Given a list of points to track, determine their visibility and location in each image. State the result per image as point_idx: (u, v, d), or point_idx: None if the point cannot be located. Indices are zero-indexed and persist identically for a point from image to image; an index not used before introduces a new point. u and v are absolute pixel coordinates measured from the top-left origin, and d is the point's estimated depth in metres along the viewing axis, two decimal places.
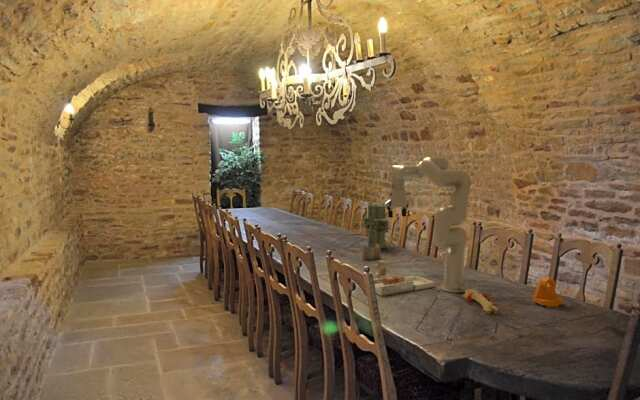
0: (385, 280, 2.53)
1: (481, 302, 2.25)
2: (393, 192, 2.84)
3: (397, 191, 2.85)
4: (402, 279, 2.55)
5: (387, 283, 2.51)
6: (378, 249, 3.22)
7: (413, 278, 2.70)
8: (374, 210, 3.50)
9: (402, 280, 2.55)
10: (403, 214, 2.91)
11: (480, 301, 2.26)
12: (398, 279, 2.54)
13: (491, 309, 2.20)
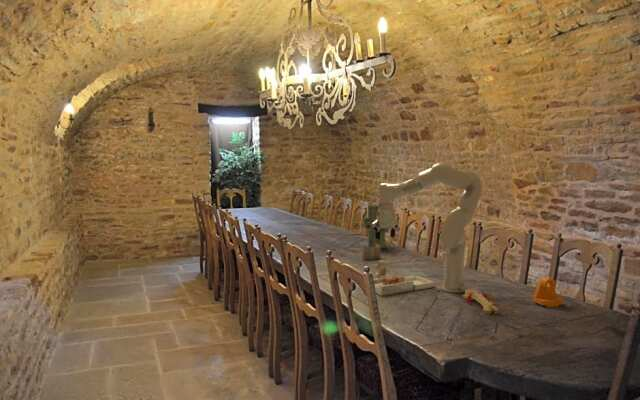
0: (385, 280, 2.53)
1: (481, 302, 2.25)
2: (380, 212, 2.67)
3: (385, 211, 2.67)
4: (402, 279, 2.55)
5: (387, 283, 2.51)
6: (378, 249, 3.22)
7: (413, 278, 2.70)
8: (374, 210, 3.50)
9: (402, 280, 2.55)
10: (392, 235, 2.74)
11: (480, 301, 2.26)
12: (398, 279, 2.54)
13: (491, 309, 2.20)
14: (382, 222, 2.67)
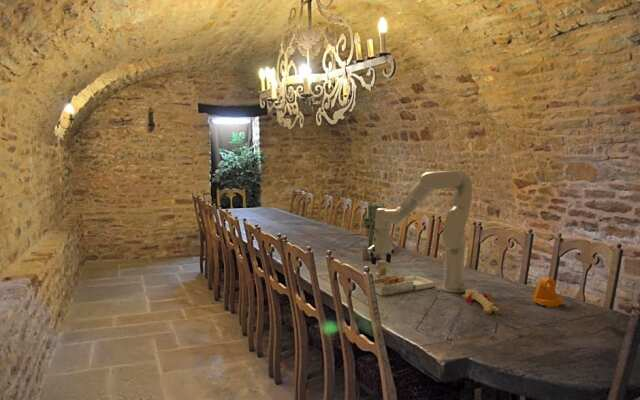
0: (385, 280, 2.53)
1: (482, 302, 2.25)
2: (377, 237, 2.63)
3: (381, 236, 2.63)
4: (402, 279, 2.55)
5: (387, 283, 2.51)
6: None
7: (413, 278, 2.70)
8: (374, 210, 3.50)
9: (402, 280, 2.55)
10: (387, 260, 2.70)
11: (480, 301, 2.26)
12: (398, 279, 2.54)
13: (492, 309, 2.19)
14: (378, 248, 2.63)
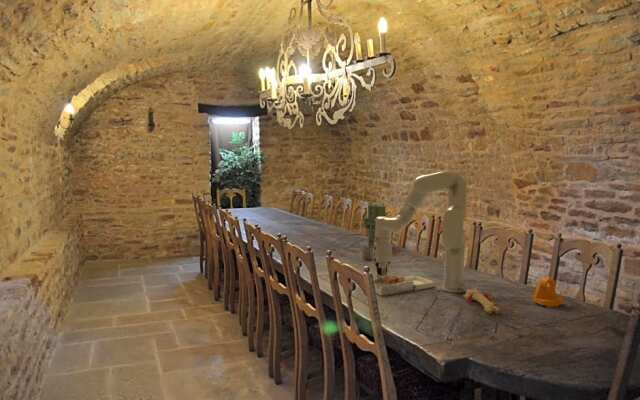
0: (385, 280, 2.53)
1: (482, 302, 2.25)
2: (377, 246, 2.63)
3: (382, 245, 2.64)
4: (402, 279, 2.55)
5: (387, 283, 2.51)
6: None
7: (413, 278, 2.70)
8: (374, 210, 3.50)
9: (402, 280, 2.55)
10: None
11: (481, 301, 2.25)
12: (398, 279, 2.54)
13: (492, 309, 2.19)
14: (379, 256, 2.63)
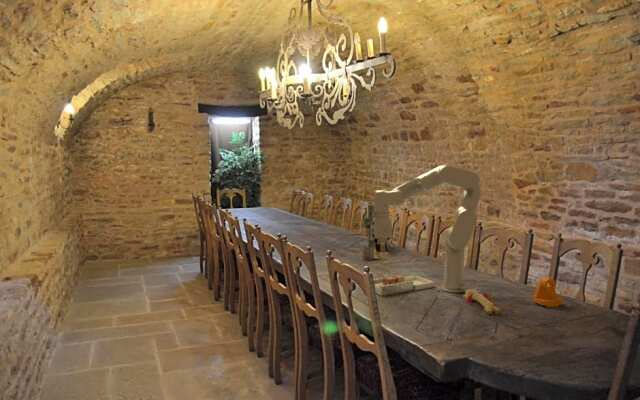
0: (385, 280, 2.53)
1: (482, 302, 2.24)
2: (376, 221, 2.50)
3: (380, 220, 2.50)
4: (402, 279, 2.55)
5: (387, 283, 2.51)
6: None
7: (413, 278, 2.70)
8: None
9: (402, 280, 2.55)
10: None
11: (481, 301, 2.25)
12: (398, 279, 2.54)
13: (492, 309, 2.19)
14: (377, 232, 2.50)
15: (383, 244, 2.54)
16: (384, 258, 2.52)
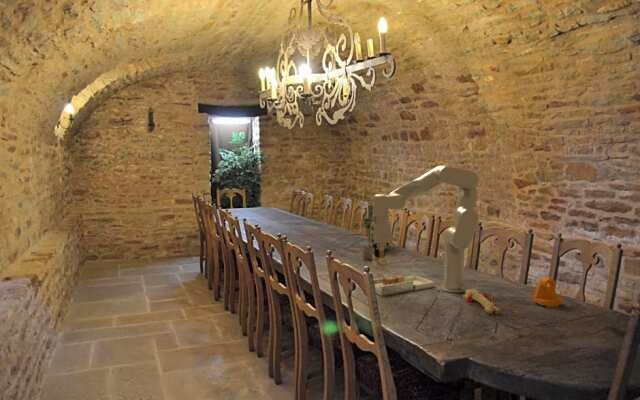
0: (385, 280, 2.53)
1: (482, 302, 2.24)
2: (375, 226, 2.44)
3: (380, 225, 2.44)
4: (402, 279, 2.55)
5: (387, 283, 2.51)
6: None
7: (413, 278, 2.70)
8: None
9: (402, 280, 2.55)
10: None
11: (481, 301, 2.25)
12: (398, 279, 2.54)
13: (492, 309, 2.19)
14: (377, 237, 2.44)
15: (382, 249, 2.48)
16: (383, 263, 2.46)
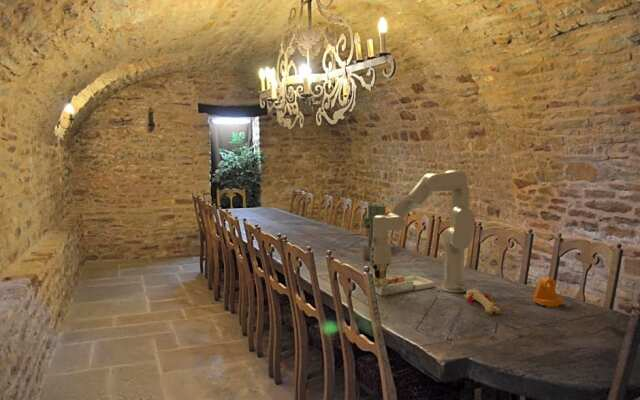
0: None
1: (483, 302, 2.24)
2: (375, 247, 2.45)
3: (380, 246, 2.45)
4: (402, 279, 2.55)
5: None
6: None
7: (413, 278, 2.70)
8: (374, 210, 3.50)
9: (402, 280, 2.55)
10: None
11: (481, 301, 2.25)
12: (398, 279, 2.54)
13: (493, 309, 2.19)
14: (377, 258, 2.45)
15: (382, 270, 2.49)
16: (383, 284, 2.47)
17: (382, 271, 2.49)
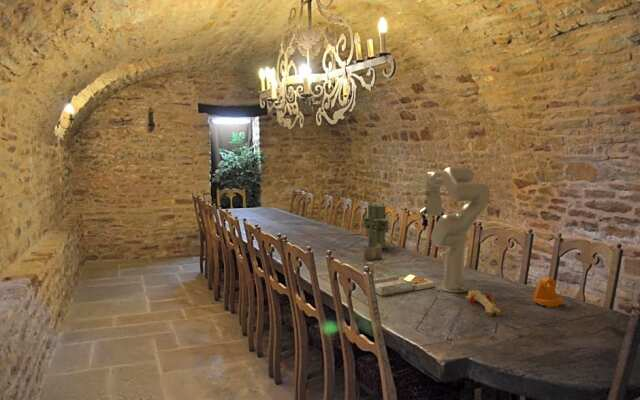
0: None
1: (484, 303, 2.23)
2: (428, 200, 2.71)
3: (432, 199, 2.72)
4: (419, 282, 2.61)
5: None
6: (379, 249, 3.22)
7: None
8: (374, 210, 3.50)
9: (419, 281, 2.61)
10: None
11: (483, 302, 2.24)
12: (423, 282, 2.62)
13: (493, 311, 2.17)
14: (430, 210, 2.72)
15: (372, 269, 2.63)
16: None
17: (371, 270, 2.63)
